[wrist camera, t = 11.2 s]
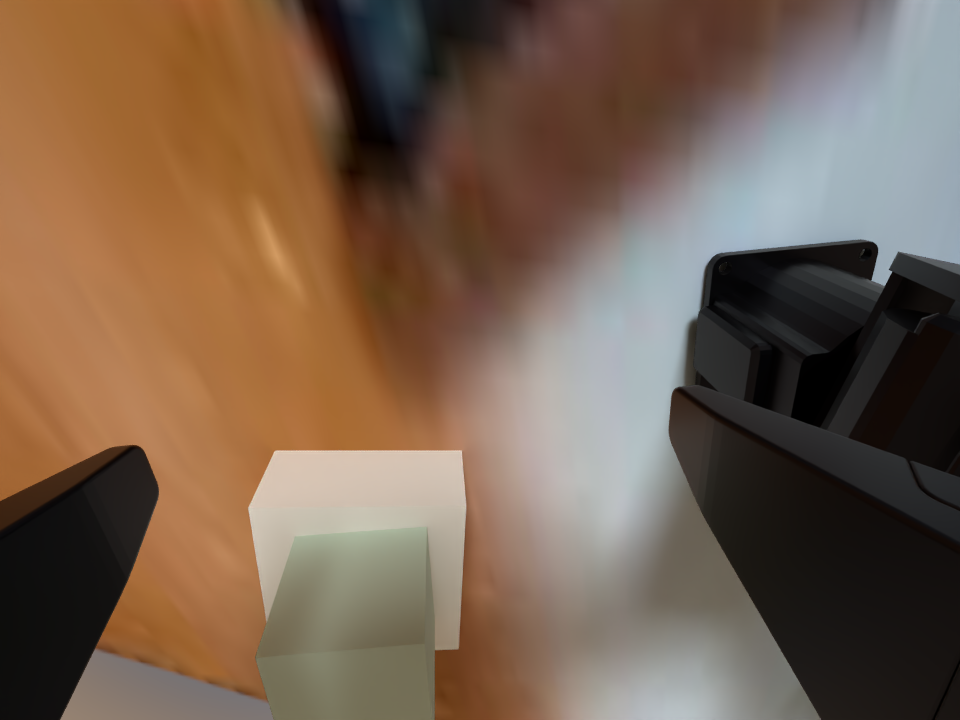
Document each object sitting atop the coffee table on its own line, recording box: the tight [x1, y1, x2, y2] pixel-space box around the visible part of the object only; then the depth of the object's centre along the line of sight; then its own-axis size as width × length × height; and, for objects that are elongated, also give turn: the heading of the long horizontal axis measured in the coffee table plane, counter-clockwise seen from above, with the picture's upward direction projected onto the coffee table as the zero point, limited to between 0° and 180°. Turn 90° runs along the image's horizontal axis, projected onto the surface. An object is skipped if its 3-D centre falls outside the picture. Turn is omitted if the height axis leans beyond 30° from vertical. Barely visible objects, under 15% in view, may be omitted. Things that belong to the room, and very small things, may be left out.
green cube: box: [255, 527, 435, 720], centre depth 19 cm, size 5×5×5 cm
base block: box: [248, 451, 466, 650], centre depth 24 cm, size 8×8×4 cm
